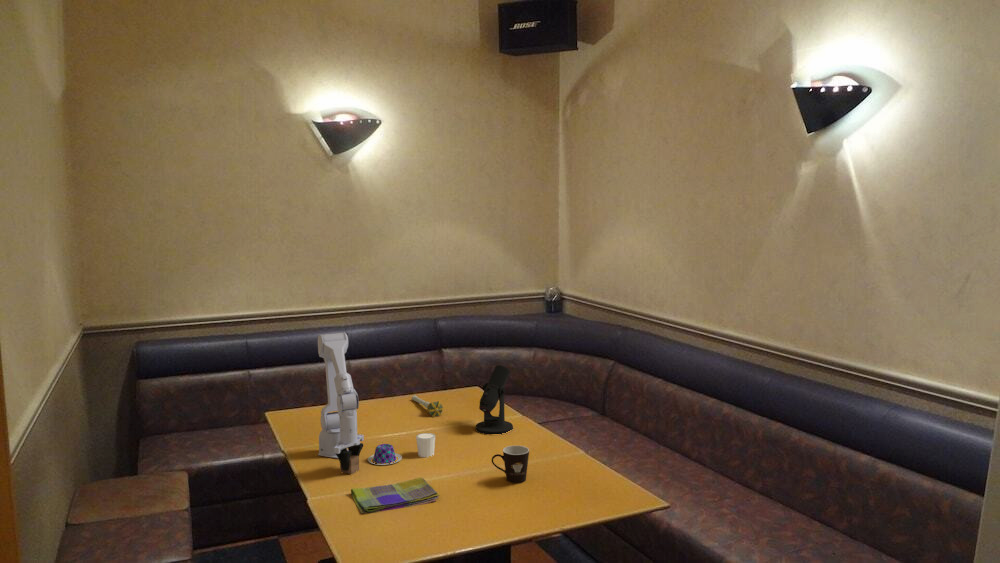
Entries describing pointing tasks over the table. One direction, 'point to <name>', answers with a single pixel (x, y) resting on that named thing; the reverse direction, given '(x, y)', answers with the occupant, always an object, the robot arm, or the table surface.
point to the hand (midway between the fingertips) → (349, 467)
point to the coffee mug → (514, 463)
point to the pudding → (384, 455)
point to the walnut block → (352, 465)
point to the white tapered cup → (425, 444)
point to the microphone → (494, 403)
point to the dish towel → (394, 496)
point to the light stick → (430, 406)
